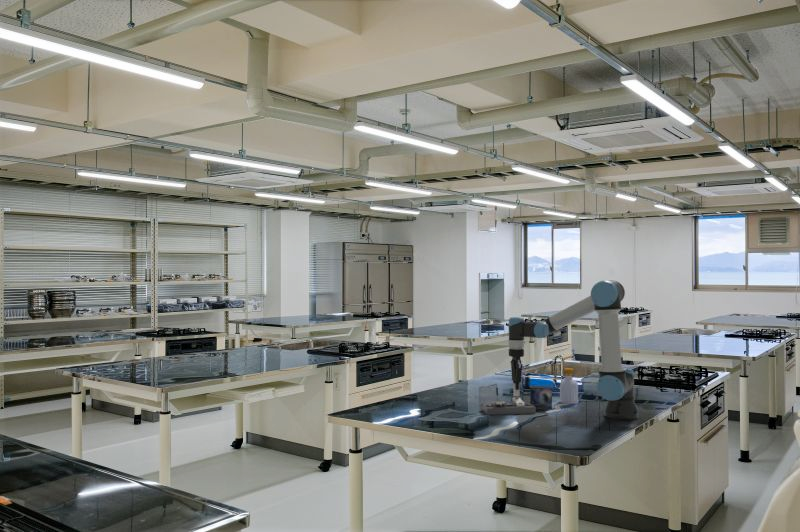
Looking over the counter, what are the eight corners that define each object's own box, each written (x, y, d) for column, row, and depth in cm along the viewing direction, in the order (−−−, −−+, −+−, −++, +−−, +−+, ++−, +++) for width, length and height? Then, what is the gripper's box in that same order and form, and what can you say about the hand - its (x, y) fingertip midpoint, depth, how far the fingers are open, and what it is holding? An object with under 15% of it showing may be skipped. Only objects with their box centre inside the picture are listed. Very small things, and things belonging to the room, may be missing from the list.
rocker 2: (524, 406, 303) (524, 403, 303) (517, 406, 303) (517, 404, 303) (519, 399, 311) (519, 397, 311) (512, 400, 311) (512, 397, 310)
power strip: (551, 412, 303) (551, 403, 303) (487, 414, 300) (487, 405, 300) (544, 408, 313) (544, 399, 313) (482, 410, 310) (482, 400, 310)
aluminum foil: (627, 382, 390) (627, 376, 390) (622, 383, 385) (622, 377, 385) (593, 378, 406) (593, 372, 406) (588, 379, 401) (588, 374, 401)
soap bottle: (578, 404, 321) (578, 357, 322) (560, 404, 323) (560, 356, 324) (577, 401, 330) (577, 354, 331) (559, 400, 332) (559, 354, 332)
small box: (530, 408, 314) (530, 387, 314) (530, 405, 320) (529, 385, 320) (552, 409, 312) (552, 388, 312) (551, 406, 319) (550, 385, 319)
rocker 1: (504, 403, 302) (504, 400, 302) (497, 403, 302) (496, 401, 302) (500, 403, 310) (500, 400, 310) (493, 403, 309) (493, 401, 310)
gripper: (527, 349, 304) (527, 398, 304) (519, 346, 317) (520, 393, 317) (512, 350, 304) (512, 398, 303) (505, 346, 317) (505, 393, 316)
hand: (516, 395), depth 310 cm, fingers closed
